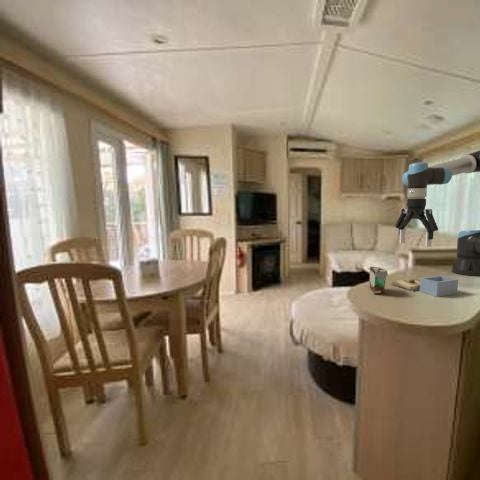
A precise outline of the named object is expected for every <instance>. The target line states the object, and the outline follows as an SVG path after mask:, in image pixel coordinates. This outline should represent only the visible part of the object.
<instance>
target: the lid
mask: <svg viewBox="0 0 480 480" xmlns="http://www.w3.org/2000/svg"><path fill="white" fill-rule="evenodd" d="M391 283H392V284H394V285H397V286H400V287H399V288H401V287H404V288H407V289H417V288H420V279H415V278H409V279H408V278H407V279H401V280H394V281H393V280H392V281H391ZM394 285H393V286H394ZM397 286H396V287H397ZM404 288H403V289H404ZM407 289H406V290H407Z"/></svg>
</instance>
